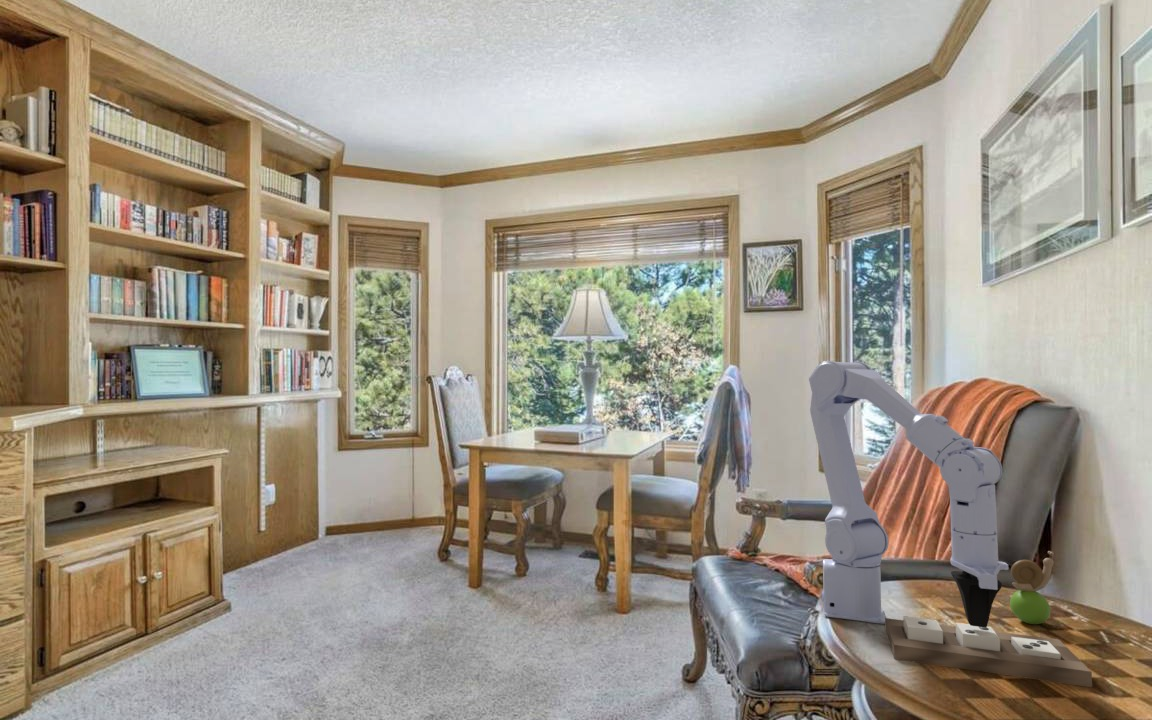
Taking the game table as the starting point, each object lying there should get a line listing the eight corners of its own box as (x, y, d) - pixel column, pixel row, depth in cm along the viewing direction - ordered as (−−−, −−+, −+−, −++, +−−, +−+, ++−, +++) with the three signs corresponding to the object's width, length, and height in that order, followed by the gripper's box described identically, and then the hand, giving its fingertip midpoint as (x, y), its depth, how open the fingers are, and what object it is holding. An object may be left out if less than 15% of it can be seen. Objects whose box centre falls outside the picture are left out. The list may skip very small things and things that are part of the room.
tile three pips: (1021, 667, 84) (1021, 648, 84) (1011, 653, 88) (1011, 635, 88) (1061, 672, 82) (1060, 653, 82) (1049, 658, 86) (1048, 640, 86)
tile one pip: (908, 644, 89) (907, 626, 89) (903, 632, 93) (903, 615, 93) (943, 648, 87) (942, 630, 87) (937, 636, 91) (936, 619, 92)
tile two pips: (963, 651, 86) (962, 633, 86) (956, 639, 90) (955, 621, 91) (1000, 656, 85) (999, 637, 85) (991, 643, 89) (990, 626, 89)
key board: (894, 658, 87) (894, 644, 87) (885, 630, 97) (885, 618, 97) (1092, 687, 78) (1091, 671, 78) (1059, 653, 88) (1058, 639, 89)
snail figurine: (1065, 631, 97) (1062, 555, 97) (1020, 628, 98) (1017, 553, 99) (1046, 618, 102) (1043, 547, 103) (1004, 616, 103) (1001, 545, 104)
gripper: (1022, 544, 80) (1027, 648, 79) (991, 523, 94) (995, 611, 93) (961, 540, 83) (965, 640, 82) (939, 519, 96) (942, 605, 96)
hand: (977, 624), depth 88 cm, fingers closed
